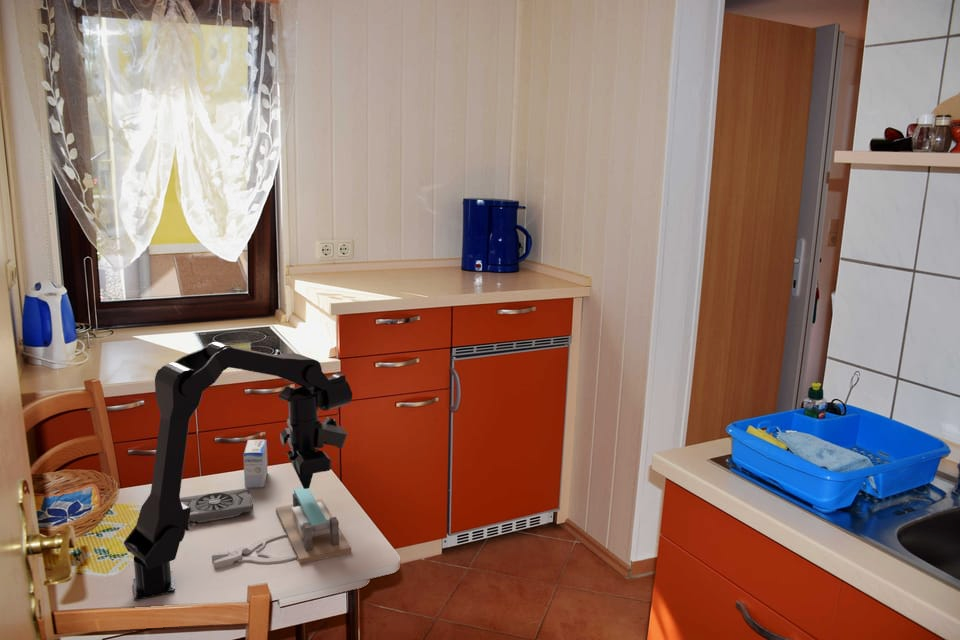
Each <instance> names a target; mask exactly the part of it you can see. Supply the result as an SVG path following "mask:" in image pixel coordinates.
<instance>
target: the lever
mask: <svg viewBox="0 0 960 640" xmlns="http://www.w3.org/2000/svg"><path fill="white" fill-rule="evenodd" d="M293 494H295V495H296V497H297V499H298V501H299V503H300V505H301V507H302V509H303V511H304V513H305V515H306V517H307V519H308V521H309V522H310V524H311V526H312V531H313V532H315V531H320V530H325V529H330V524H329V522H327V520H326V518H325V516H324V514H323V513H322V511H321V509H320V507H319V505H318V504H317V502H316V500H317V499H316V498H315V496H314V494H313V493H312V490H311V489H310V487H309V488H308V489H304V488H303V487H297V488H294V489H293Z"/></svg>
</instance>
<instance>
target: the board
mask: <svg viewBox="0 0 960 640" xmlns="http://www.w3.org/2000/svg"><path fill="white" fill-rule="evenodd" d="M315 500H316V502H317V504H318V505H319V507H320V509H321V511H322V513H323V514H324V516H325V518H326V520H327V522H329V524H330V529H325V530H320V531H315V532H313V531H312V526H311V524H310V522H309V521H308V519H307V517H306V515H305V513H304V511H303V509H302V507H301V506H297V507H293V503H292V504H288V505H287V504H286V505H282V506H278V507H277V506H276V507H275V513H276V515H277V518H278V520H279V522H280V524H281V526H282V529H283V530H284V533H286V534H287V536H286V537H287V540H288V542H289V545H290V546H291V549H292V550H293V553H294V555H296V556H297V558H296V559H297V562H298V564H299V565H301V564H305V563H309V562H313V561H318V560H323V559H327V558H332V557H336V556H337V557H338V556H340V555H341V556H342V555H345V554H346V555H347V554H349V553H352V547H351V545H350V543H349V541H348V540H347V539H346V537H345V536H344V533H343V532H342V530H341V528H340V525H339V522H340V521H339V520H338V518H337V516H333V515H332V513H331V512H330V511H329V508H328V507H327V504H325V502H324V500H323V499H322V498H319V499H315Z"/></svg>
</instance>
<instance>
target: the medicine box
mask: <svg viewBox="0 0 960 640" xmlns="http://www.w3.org/2000/svg"><path fill="white" fill-rule="evenodd" d="M267 441H268V440H267V439H248V440H247V442H246V445H245V448H244V450H243V451H244V452H243V472H244V473H243V477H244V479H243V480H244V489H245V488H246V489H254V487H255V488H264V487H265V485H266V479H267V473H268V447H267V445H268V444H267Z"/></svg>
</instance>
